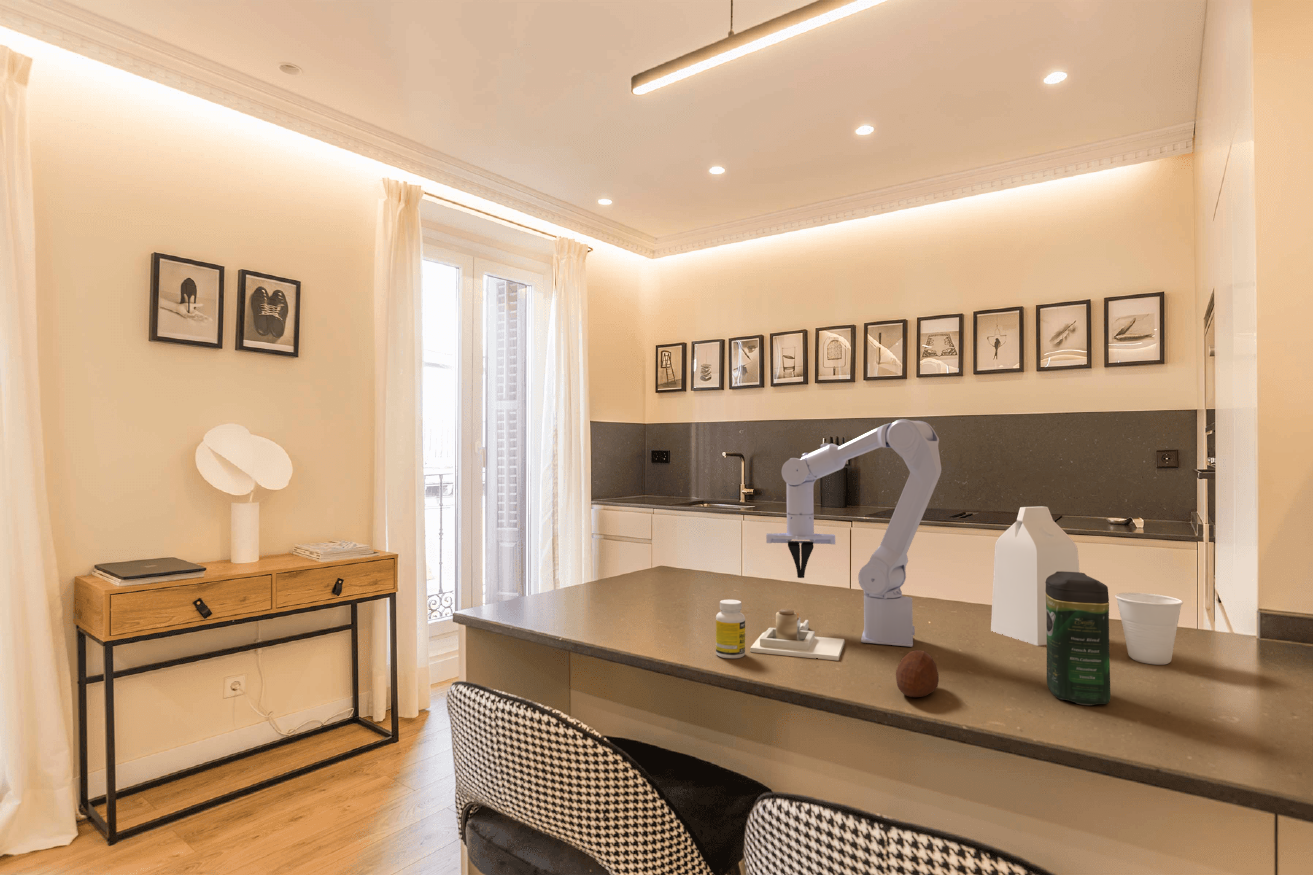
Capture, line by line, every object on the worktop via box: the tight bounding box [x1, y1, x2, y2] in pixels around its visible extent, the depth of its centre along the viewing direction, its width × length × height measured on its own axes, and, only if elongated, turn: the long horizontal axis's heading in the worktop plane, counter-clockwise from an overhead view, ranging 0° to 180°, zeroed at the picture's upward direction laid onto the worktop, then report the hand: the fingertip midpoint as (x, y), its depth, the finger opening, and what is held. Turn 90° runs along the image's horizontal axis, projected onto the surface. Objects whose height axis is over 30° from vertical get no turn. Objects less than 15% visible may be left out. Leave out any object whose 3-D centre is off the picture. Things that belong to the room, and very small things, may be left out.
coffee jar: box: [1045, 571, 1111, 706], centre depth 104 cm, size 10×8×19 cm
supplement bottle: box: [715, 599, 746, 659], centre depth 126 cm, size 5×5×10 cm
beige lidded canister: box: [775, 608, 798, 641], centre depth 131 cm, size 4×4×7 cm
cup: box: [1114, 592, 1184, 666], centre depth 122 cm, size 10×10×11 cm
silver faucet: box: [794, 611, 801, 634], centre depth 137 cm, size 2×8×4 cm, turn 159°
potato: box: [895, 649, 940, 698], centre depth 105 cm, size 6×12×6 cm, turn 149°
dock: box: [749, 619, 845, 662], centre depth 135 cm, size 16×22×2 cm
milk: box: [990, 506, 1080, 647], centre depth 139 cm, size 12×12×26 cm
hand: (800, 577), depth 147 cm, fingers closed
